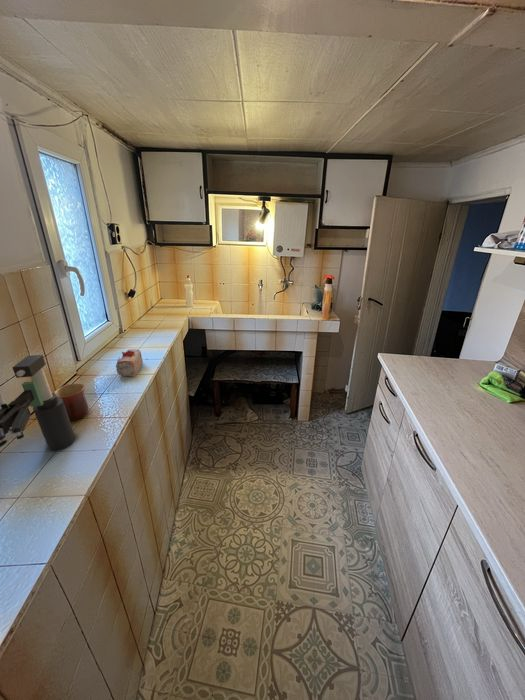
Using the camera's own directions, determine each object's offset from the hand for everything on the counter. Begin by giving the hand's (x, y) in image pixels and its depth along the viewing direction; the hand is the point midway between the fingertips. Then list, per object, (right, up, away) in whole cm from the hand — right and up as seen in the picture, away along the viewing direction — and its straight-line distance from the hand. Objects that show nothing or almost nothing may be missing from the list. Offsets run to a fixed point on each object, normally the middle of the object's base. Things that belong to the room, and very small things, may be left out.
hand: (29, 394), depth 73 cm
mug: (-5, -11, +27) cm, 30 cm away
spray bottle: (-1, -17, +12) cm, 21 cm away
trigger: (0, -3, +3) cm, 4 cm away
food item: (+1, +2, +55) cm, 55 cm away
